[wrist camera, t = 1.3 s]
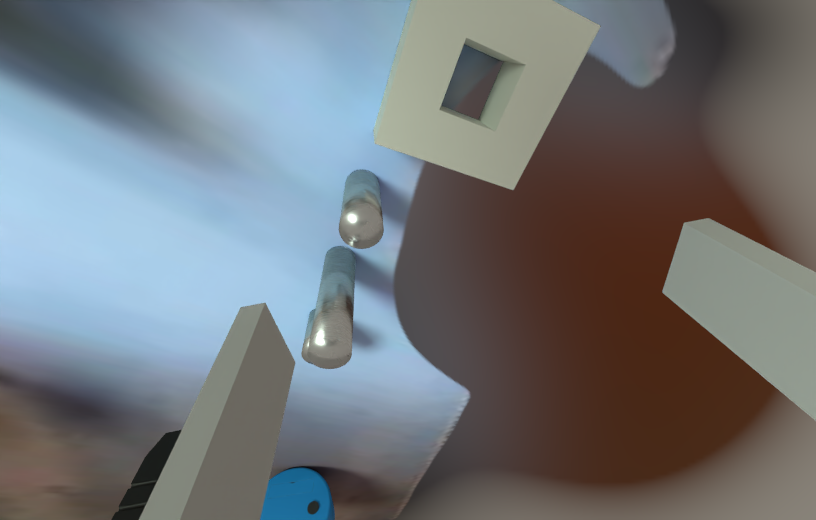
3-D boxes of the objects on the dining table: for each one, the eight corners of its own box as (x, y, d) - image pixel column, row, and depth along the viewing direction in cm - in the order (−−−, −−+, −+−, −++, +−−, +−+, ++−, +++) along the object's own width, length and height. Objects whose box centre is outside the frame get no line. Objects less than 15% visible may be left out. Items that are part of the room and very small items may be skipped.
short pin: (306, 324, 43) (298, 362, 38) (312, 304, 41) (304, 340, 36) (333, 329, 44) (329, 366, 39) (339, 310, 42) (336, 346, 37)
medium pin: (341, 196, 35) (334, 242, 27) (350, 165, 33) (345, 203, 25) (373, 205, 35) (376, 253, 27) (383, 175, 34) (389, 216, 26)
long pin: (322, 267, 39) (303, 365, 27) (328, 242, 37) (312, 335, 25) (351, 274, 40) (345, 371, 28) (359, 250, 38) (356, 342, 26)
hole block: (373, 130, 31) (374, 143, 27) (424, -44, 25) (435, -62, 21) (495, 172, 35) (513, 190, 31) (566, 28, 29) (600, 26, 25)
